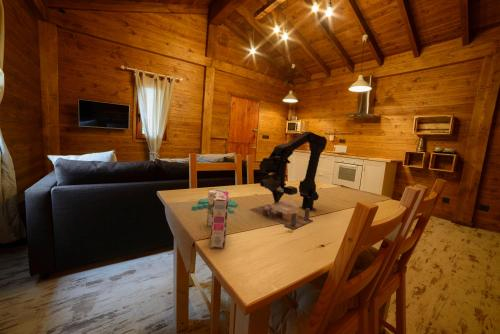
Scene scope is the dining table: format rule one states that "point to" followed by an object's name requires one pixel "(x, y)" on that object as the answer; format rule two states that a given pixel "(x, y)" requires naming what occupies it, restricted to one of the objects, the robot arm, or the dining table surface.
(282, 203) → the slab
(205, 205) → the alien figure
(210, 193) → the syrup box
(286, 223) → the roller bed
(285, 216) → the support block
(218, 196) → the candy bar box
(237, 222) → the dining table surface
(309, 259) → the dining table surface
